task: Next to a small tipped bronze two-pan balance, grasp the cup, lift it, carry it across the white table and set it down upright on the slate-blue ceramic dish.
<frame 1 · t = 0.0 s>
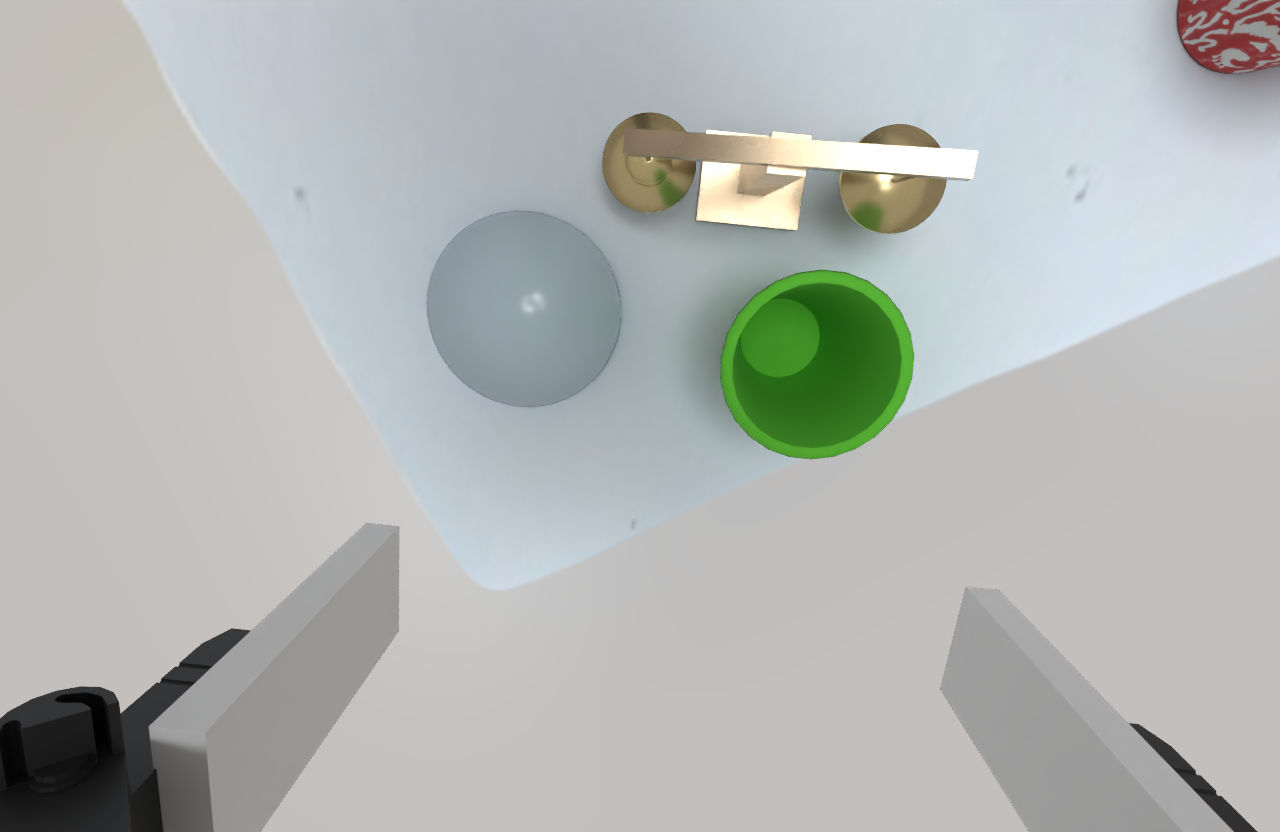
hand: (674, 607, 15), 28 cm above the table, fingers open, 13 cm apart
dish: (526, 311, 42), on the table
balance: (750, 181, 39), on the table
mug: (1264, 21, 36), on the table
cup: (777, 336, 42), on the table
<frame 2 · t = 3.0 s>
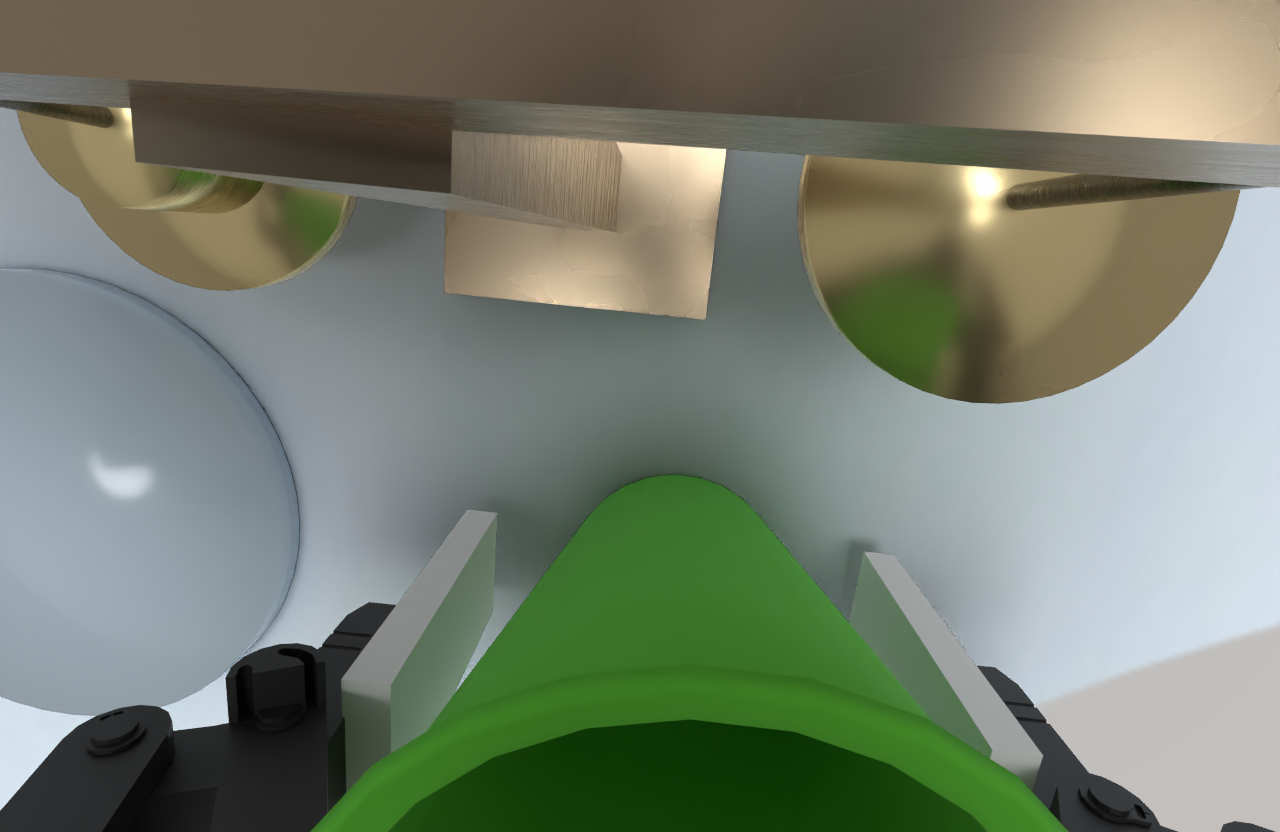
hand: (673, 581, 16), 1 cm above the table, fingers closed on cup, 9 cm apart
dish: (77, 498, 18), on the table
balance: (586, 193, 15), on the table
cup: (673, 558, 18), on the table, touching gripper
when the fingers open (4 cm above the table, at t = 8.2 s): cup drops 2 cm, resting on dish.
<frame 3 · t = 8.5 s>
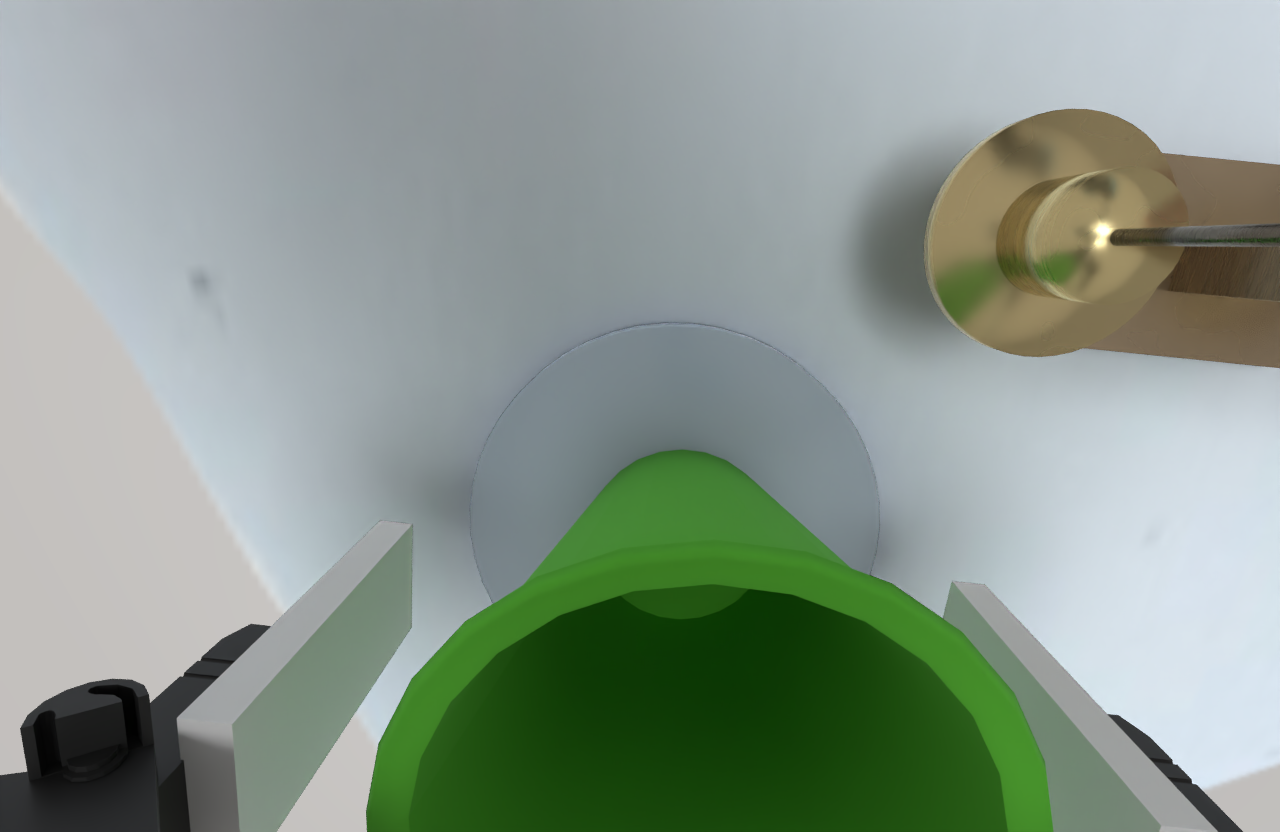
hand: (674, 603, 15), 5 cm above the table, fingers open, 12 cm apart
dish: (672, 517, 20), on the table
balance: (1184, 262, 18), on the table
cup: (680, 528, 19), point 1 cm above the table, touching dish
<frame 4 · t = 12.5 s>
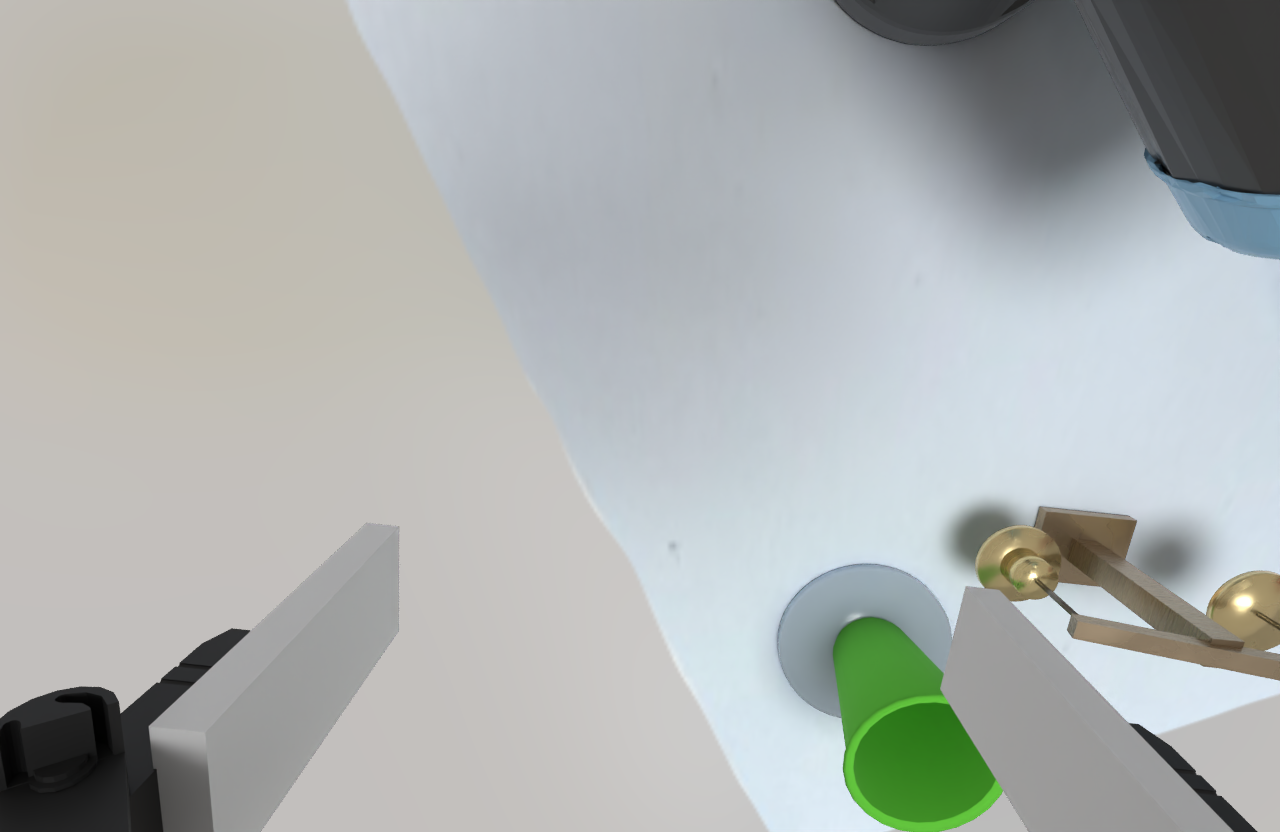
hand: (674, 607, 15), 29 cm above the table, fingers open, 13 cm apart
dish: (861, 639, 47), on the table
balance: (1074, 545, 45), on the table
cup: (867, 646, 47), point 1 cm above the table, touching dish
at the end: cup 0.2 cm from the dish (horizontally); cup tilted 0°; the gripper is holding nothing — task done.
